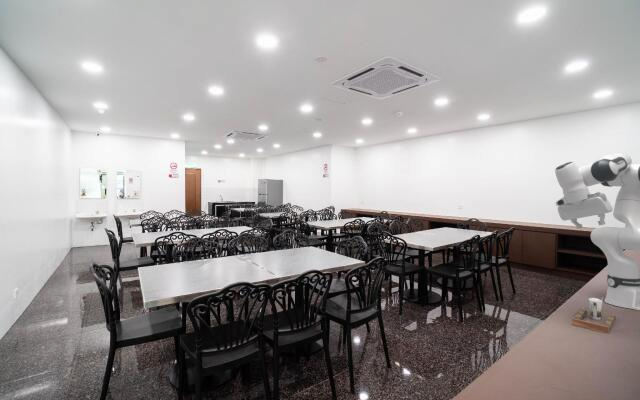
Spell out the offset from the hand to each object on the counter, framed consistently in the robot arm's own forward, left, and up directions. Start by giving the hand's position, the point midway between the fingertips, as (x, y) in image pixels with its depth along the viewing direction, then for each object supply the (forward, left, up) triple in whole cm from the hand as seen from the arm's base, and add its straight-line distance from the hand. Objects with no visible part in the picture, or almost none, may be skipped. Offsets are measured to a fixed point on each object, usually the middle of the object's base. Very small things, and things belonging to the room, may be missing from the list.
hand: (590, 226), depth 135 cm
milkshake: (-3, -1, -41) cm, 41 cm away
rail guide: (+1, +3, -41) cm, 41 cm away
